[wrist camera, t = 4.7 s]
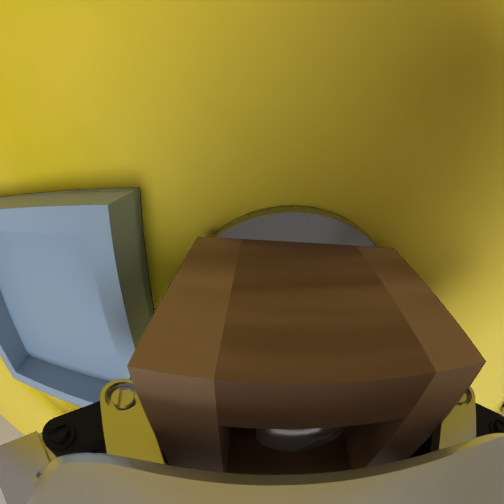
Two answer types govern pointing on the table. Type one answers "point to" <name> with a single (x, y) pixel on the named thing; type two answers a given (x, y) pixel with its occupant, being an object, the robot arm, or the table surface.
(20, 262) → the tray
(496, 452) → the robot arm
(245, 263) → the brown hollow block
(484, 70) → the table surface
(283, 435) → the stake
